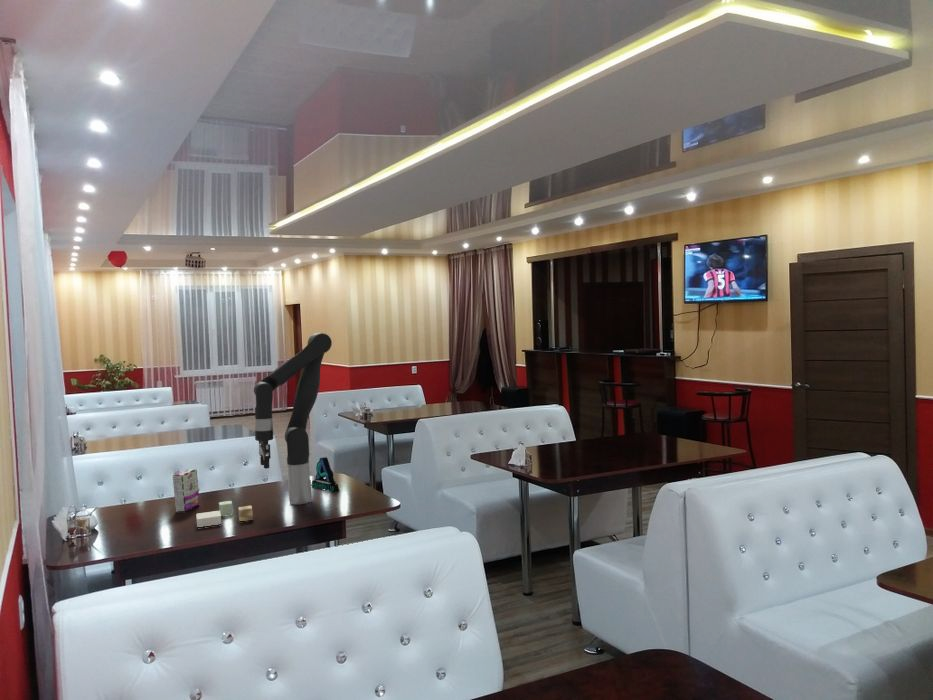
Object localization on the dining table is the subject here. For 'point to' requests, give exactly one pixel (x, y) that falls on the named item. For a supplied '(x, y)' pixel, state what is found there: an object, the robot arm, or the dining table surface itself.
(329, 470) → the decorative sign
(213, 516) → the cream block
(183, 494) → the candy bar box
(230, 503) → the sage cube
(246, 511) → the oak cube
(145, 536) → the dining table surface
